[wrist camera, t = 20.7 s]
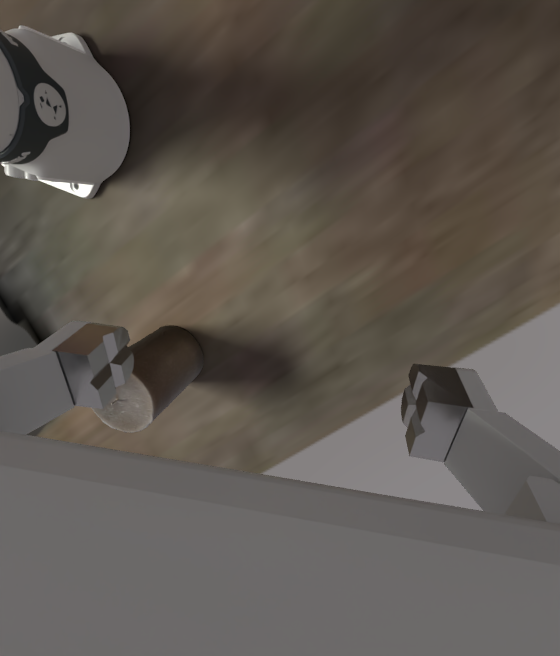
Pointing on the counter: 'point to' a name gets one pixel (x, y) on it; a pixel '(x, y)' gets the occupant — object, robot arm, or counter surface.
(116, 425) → the pillar candle
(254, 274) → the counter surface
